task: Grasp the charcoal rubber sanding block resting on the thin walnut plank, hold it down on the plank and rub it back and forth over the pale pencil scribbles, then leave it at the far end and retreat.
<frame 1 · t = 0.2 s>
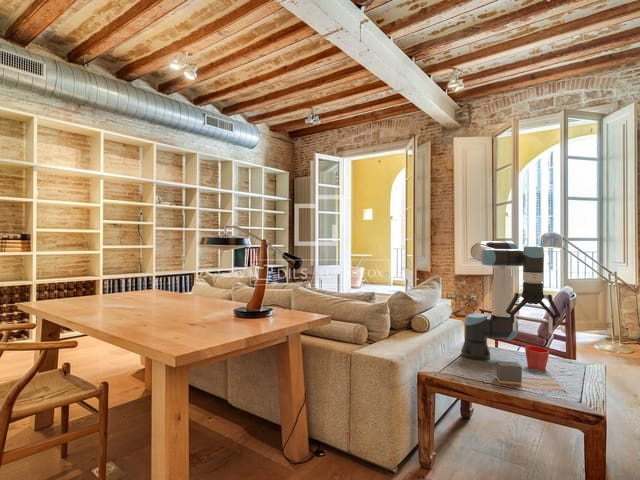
hand: (532, 331, 157), 27 cm above the table, fingers open, 13 cm apart
sanding block: (508, 380, 170), point 1 cm above the table, touching plank
plank: (527, 384, 168), on the table
flower pot: (536, 368, 190), on the table
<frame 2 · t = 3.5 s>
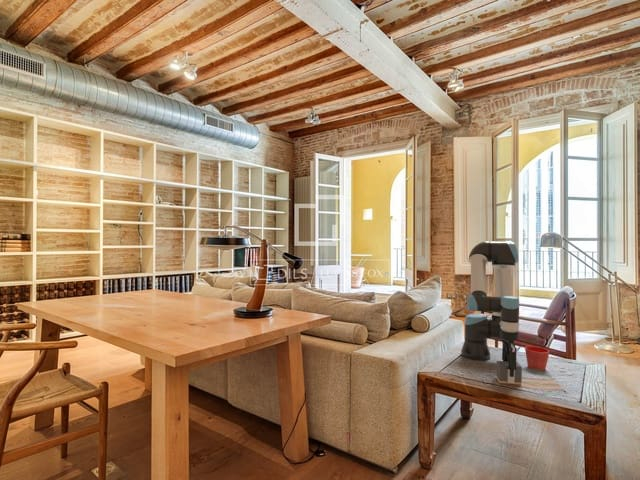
hand: (508, 380, 170), 1 cm above the table, fingers closed on sanding block, 6 cm apart
sanding block: (508, 380, 170), point 1 cm above the table, touching gripper, plank
everything else where it was.
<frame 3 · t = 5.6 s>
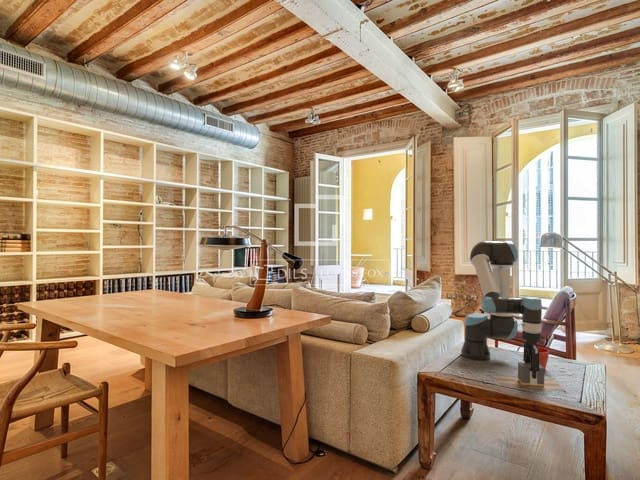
hand: (530, 381, 168), 1 cm above the table, fingers closed on sanding block, 6 cm apart
sanding block: (530, 382, 168), point 1 cm above the table, touching gripper
everything else where it was.
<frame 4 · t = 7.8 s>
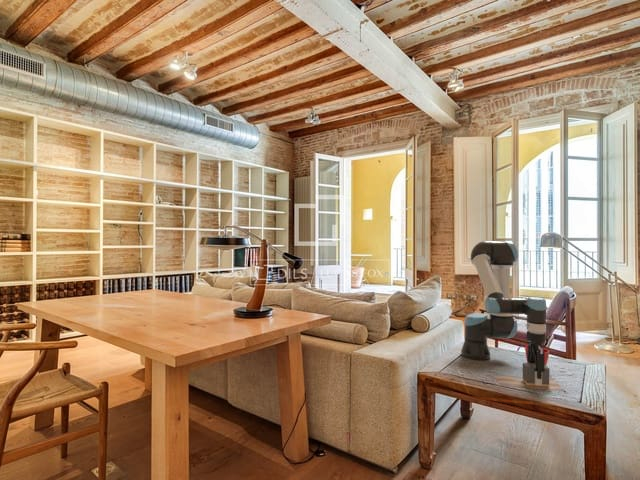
hand: (535, 382, 168), 1 cm above the table, fingers closed on sanding block, 6 cm apart
sanding block: (535, 383, 167), point 1 cm above the table, touching gripper
everything else where it was.
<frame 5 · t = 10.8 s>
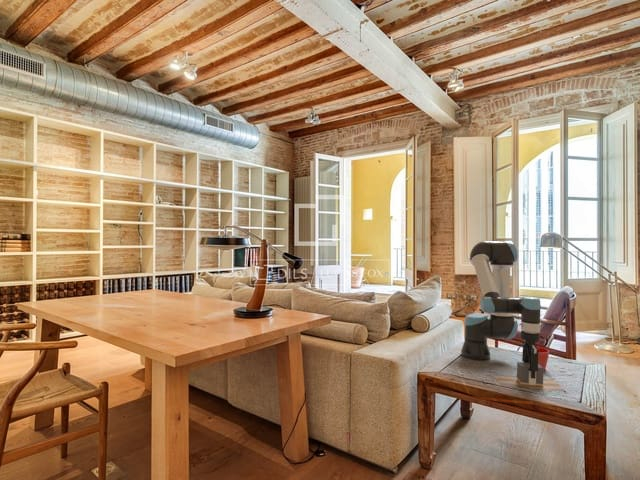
hand: (529, 381, 168), 1 cm above the table, fingers closed on sanding block, 6 cm apart
sanding block: (529, 382, 168), point 1 cm above the table, touching gripper
everything else where it was.
when the fingers open (1 cm above the table, at t = 12.9 s): sanding block stays where it is, resting on plank.
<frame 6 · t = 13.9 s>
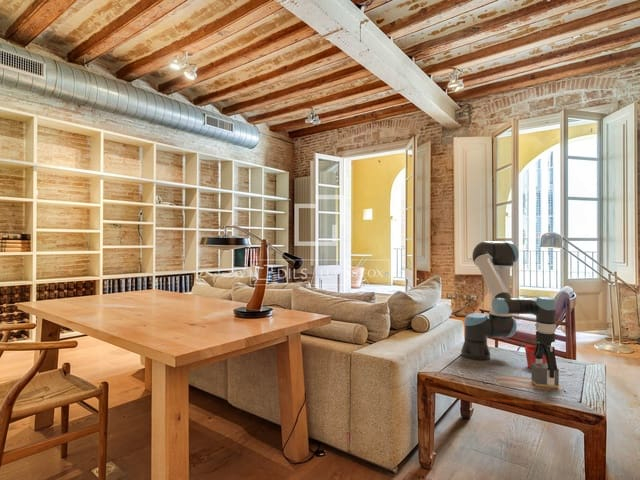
hand: (544, 378, 167), 3 cm above the table, fingers open, 13 cm apart
sanding block: (544, 383, 167), point 1 cm above the table, touching plank
everything else where it was.
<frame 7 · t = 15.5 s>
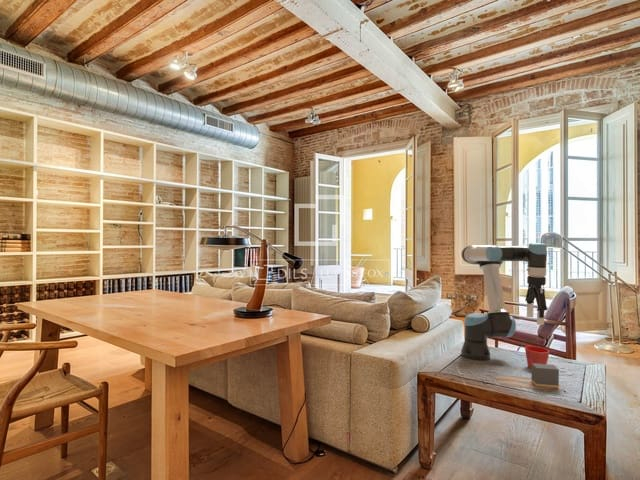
hand: (534, 320, 175), 28 cm above the table, fingers open, 13 cm apart
nothing on the table moved.
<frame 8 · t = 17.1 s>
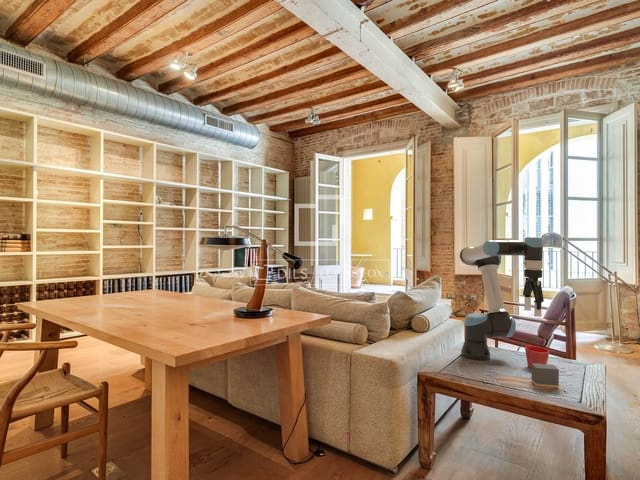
hand: (532, 313, 177), 31 cm above the table, fingers open, 13 cm apart
nothing on the table moved.
at the end: sanding block inside the target area (0.0 cm from its centre), point 1.0 cm above the table; sanding block tilted 0°; the gripper is holding nothing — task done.
